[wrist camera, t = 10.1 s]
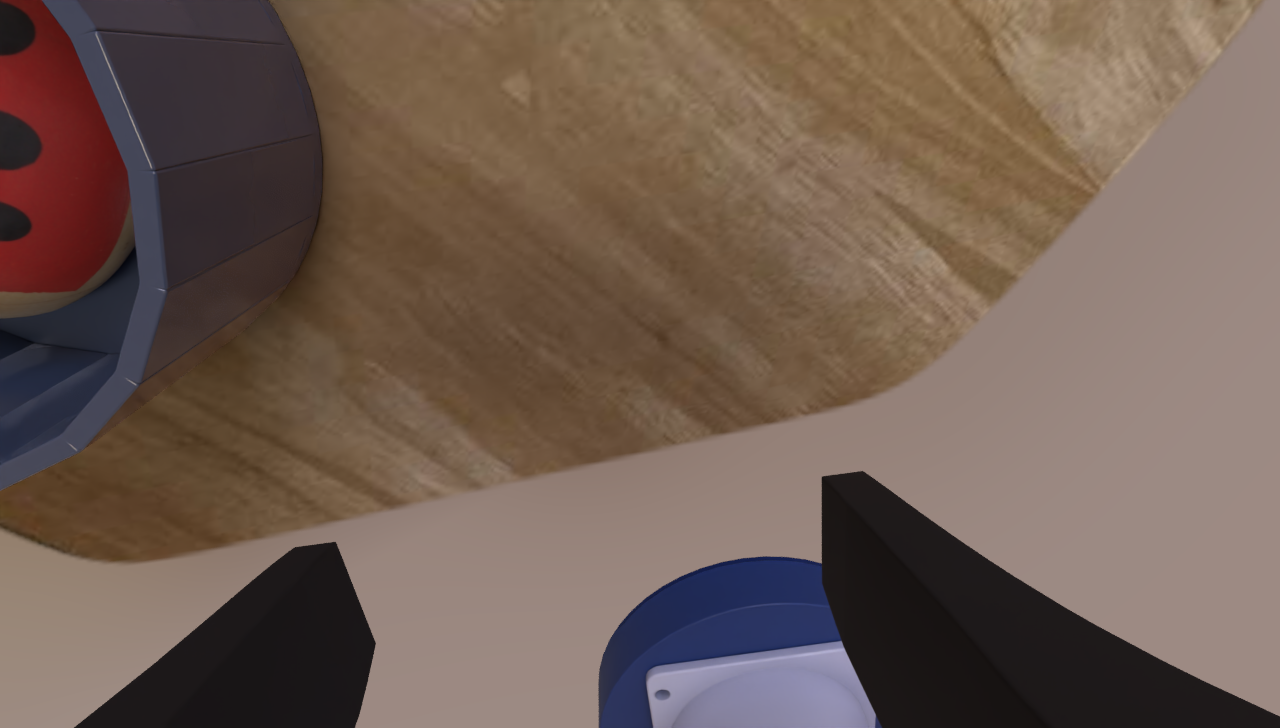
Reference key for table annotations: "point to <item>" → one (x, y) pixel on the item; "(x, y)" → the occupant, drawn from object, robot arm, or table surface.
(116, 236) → the ladybug figurine
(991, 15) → the table surface
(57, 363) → the round open container
